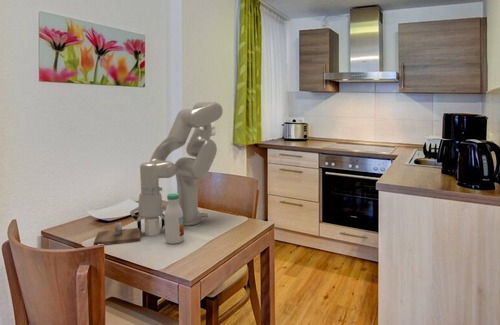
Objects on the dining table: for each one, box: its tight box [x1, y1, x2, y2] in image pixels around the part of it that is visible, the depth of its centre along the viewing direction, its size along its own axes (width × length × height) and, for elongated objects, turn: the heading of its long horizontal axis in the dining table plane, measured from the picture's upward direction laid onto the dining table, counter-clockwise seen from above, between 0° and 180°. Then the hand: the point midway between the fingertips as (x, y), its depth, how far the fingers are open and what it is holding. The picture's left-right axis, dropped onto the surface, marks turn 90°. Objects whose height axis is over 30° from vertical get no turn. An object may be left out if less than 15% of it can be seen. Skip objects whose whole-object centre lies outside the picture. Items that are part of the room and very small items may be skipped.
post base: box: [93, 221, 142, 246], centre depth 150 cm, size 18×13×6 cm
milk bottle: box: [164, 193, 185, 245], centre depth 146 cm, size 8×8×20 cm
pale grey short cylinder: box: [144, 216, 161, 237], centre depth 156 cm, size 6×6×7 cm
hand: (151, 228), depth 156 cm, fingers open, 9 cm apart
